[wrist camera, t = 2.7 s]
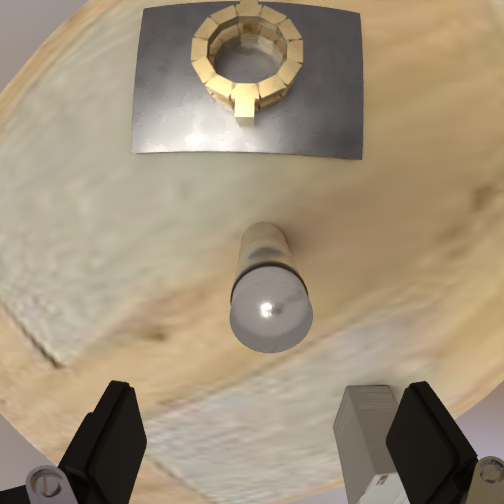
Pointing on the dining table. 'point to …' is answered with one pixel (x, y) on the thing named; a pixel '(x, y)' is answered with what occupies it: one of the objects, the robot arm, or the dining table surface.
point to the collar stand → (249, 80)
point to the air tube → (268, 293)
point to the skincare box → (368, 446)
